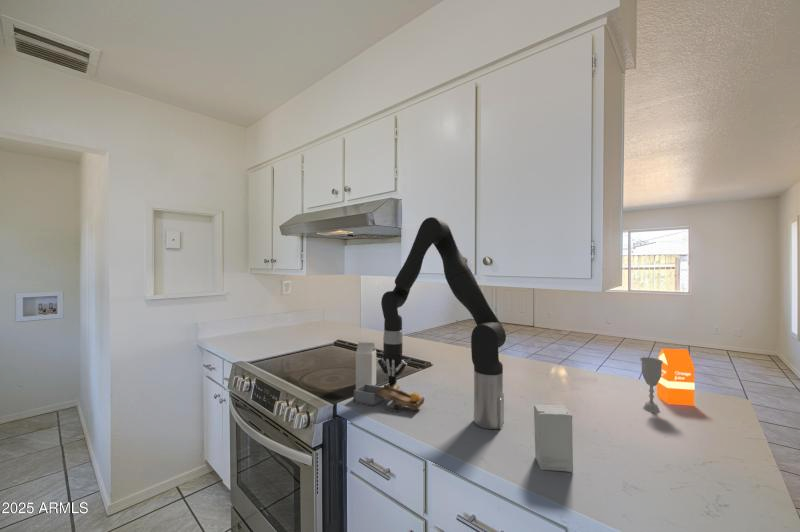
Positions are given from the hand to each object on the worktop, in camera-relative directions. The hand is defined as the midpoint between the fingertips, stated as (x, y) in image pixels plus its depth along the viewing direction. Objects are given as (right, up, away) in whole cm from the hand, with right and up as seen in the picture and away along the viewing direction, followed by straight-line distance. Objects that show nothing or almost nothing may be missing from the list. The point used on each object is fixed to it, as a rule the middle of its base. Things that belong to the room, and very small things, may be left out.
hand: (392, 384), depth 131 cm
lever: (+4, -2, -6) cm, 8 cm away
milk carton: (-12, -5, +12) cm, 17 cm away
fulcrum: (+2, -5, -8) cm, 10 cm away
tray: (-9, -5, -3) cm, 11 cm away
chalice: (+94, -5, -11) cm, 95 cm away
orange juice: (+110, -5, -3) cm, 110 cm away
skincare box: (+43, -5, -44) cm, 62 cm away
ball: (+8, -1, -12) cm, 14 cm away
